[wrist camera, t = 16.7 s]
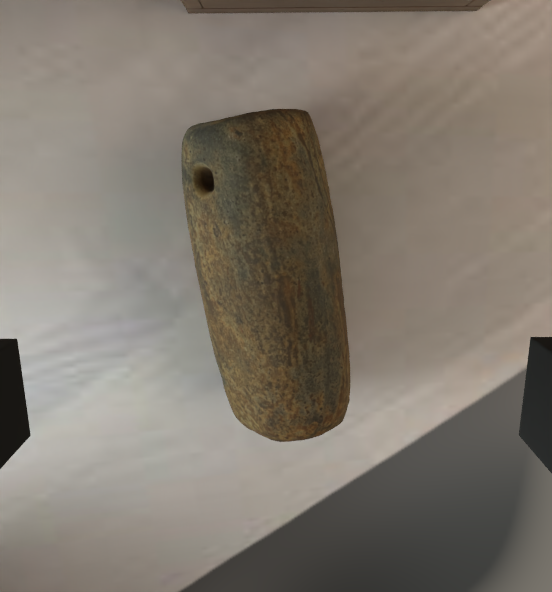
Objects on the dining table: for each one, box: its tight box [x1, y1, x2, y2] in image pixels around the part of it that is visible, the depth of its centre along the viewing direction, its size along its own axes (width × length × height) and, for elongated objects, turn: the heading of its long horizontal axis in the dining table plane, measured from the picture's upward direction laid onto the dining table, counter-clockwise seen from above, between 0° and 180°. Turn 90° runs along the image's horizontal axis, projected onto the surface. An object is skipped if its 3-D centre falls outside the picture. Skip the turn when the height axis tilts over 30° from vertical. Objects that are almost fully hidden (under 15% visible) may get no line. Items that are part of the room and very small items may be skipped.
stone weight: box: [182, 109, 350, 442], centre depth 25 cm, size 15×7×7 cm, turn 13°
